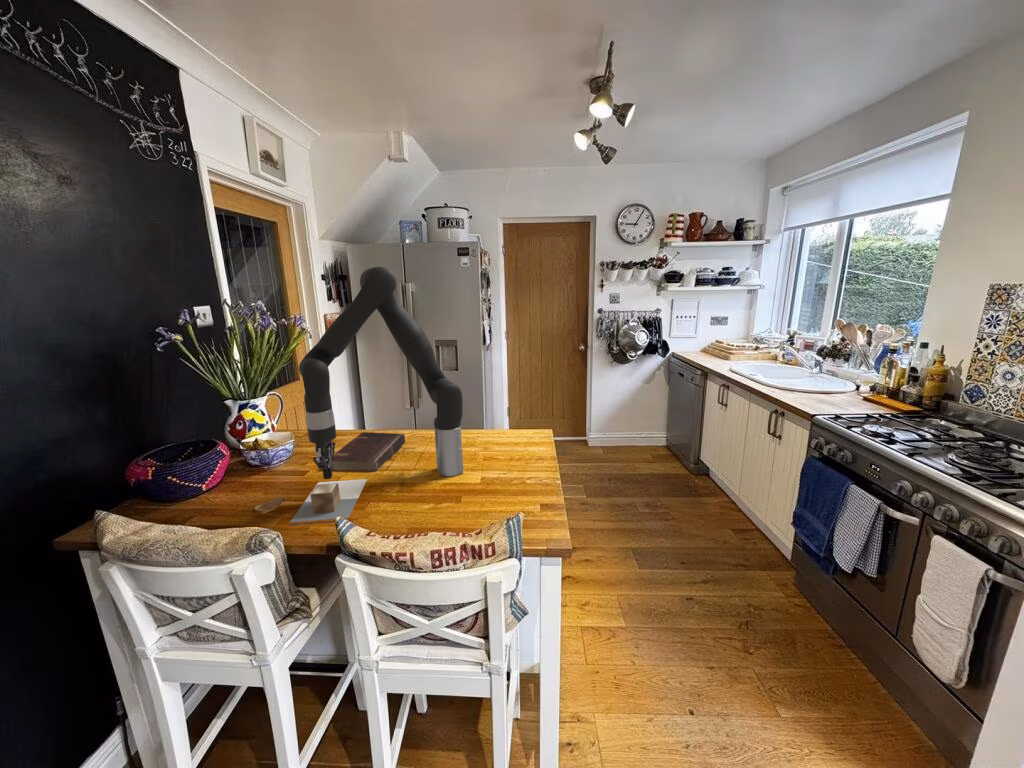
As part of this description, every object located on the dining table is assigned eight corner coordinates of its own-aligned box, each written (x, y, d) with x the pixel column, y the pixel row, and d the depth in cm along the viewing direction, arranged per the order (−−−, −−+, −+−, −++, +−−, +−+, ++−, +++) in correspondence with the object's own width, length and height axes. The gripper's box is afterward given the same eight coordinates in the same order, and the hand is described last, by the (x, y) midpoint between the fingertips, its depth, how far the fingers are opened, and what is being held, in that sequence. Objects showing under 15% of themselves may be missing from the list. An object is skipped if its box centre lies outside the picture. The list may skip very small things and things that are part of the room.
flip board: (367, 481, 140) (367, 479, 139) (349, 520, 117) (348, 517, 116) (318, 485, 138) (318, 482, 138) (290, 525, 115) (289, 522, 114)
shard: (291, 496, 132) (290, 491, 131) (302, 504, 127) (301, 498, 127) (254, 510, 123) (253, 505, 123) (264, 519, 119) (263, 514, 118)
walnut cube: (332, 492, 118) (334, 511, 120) (338, 483, 124) (340, 501, 125) (310, 494, 117) (313, 513, 119) (317, 484, 123) (320, 502, 125)
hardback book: (377, 475, 146) (375, 462, 144) (327, 473, 148) (325, 460, 146) (405, 444, 174) (404, 433, 172) (363, 443, 176) (362, 432, 174)
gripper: (327, 431, 114) (334, 487, 118) (340, 416, 127) (346, 467, 131) (299, 432, 113) (307, 489, 117) (315, 417, 126) (322, 469, 130)
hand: (328, 477), depth 124 cm, fingers closed
